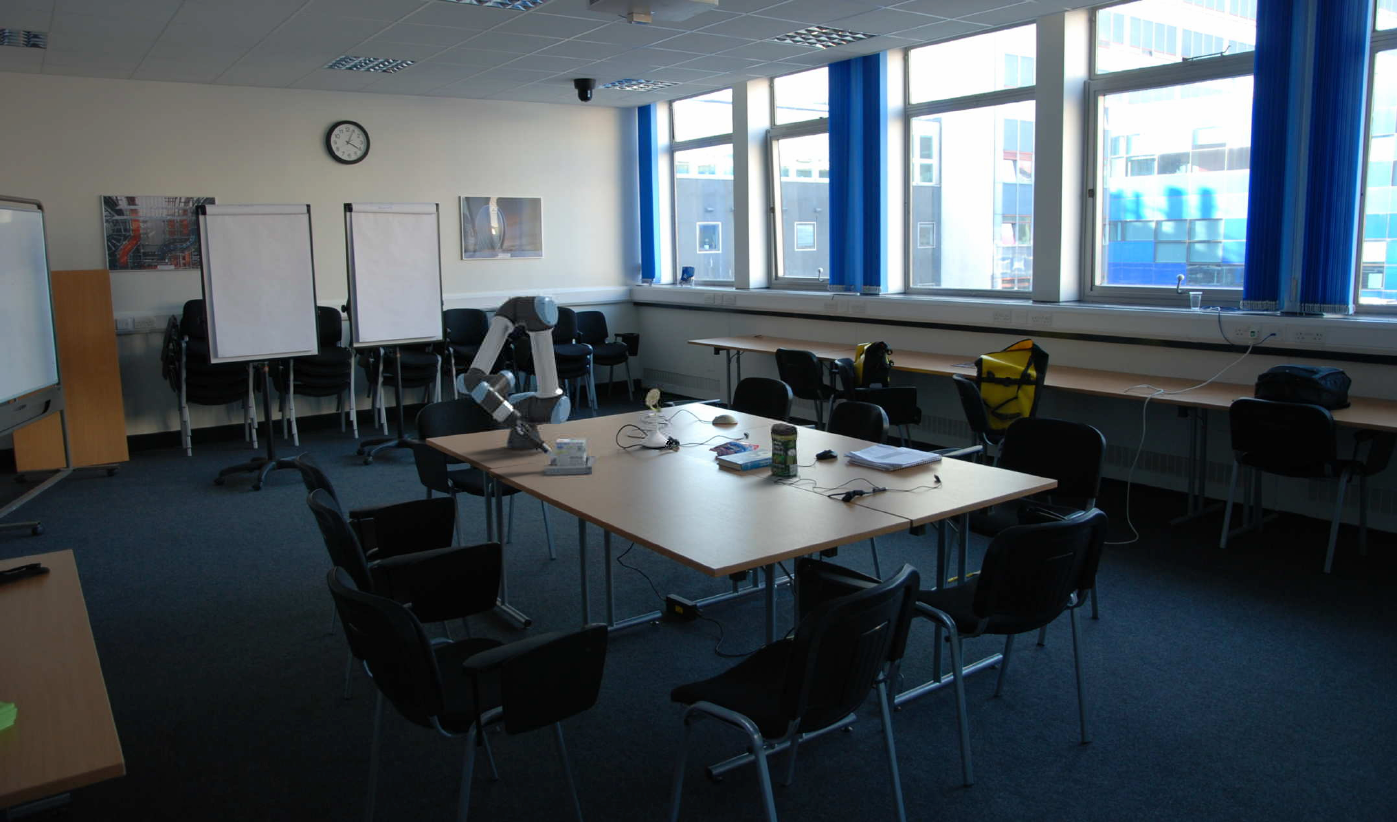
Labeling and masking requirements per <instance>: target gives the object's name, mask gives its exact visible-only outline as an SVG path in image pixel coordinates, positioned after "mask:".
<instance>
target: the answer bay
mask: <svg viewBox="0 0 1397 822" xmlns="http://www.w3.org/2000/svg"><path fill="white" fill-rule="evenodd" d="M549 460H550V459H549ZM595 463H596V457H595V456H594V455H592V456H591V455H589V456H587V455H586V466H574V467H557V465H556V456H555V457H554V458H553V459H552V461H551V460H550V465H551V466H549V467H548V466H546V467H545V469H544V470H545V471H544V473H545V476H561V475H565V474H566V475H592V474H593V471H594V468H593V467H594V466H595Z"/></svg>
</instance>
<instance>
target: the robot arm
mask: <svg viewBox="0 0 1397 822" xmlns="http://www.w3.org/2000/svg"><path fill="white" fill-rule="evenodd" d="M558 319H559V310H558V306H557V304H556V302H555V301H554V300H553V298H551V297H549V296H544V295H531V296H529V295H528V296H525V295H524V296H521V295H520V296H514V297H511V298H509V299H507V300H506V301H504V302H503V303H502V304H501V305H500V306H499V307H498V308H497V309H496V311H495V313H494V314H493V316H492V318H491V320H490V323H491V325H490V328H489V330H488V332H487V334H486V335H485V337H484V339H483V341H482V343H481V345H480V347H479V349H478V351H477V352H476V353H477V354H476V356H475V357H474V359H473V361H472V364H471V365H470V367H469V369H468V371H467V373H461V374H460V375H458V377H457V379H456V383H455V384H456V388H457V390H458V391H459V392H460V393H462V394H469V395H471V397H472V398H473V399H474V400H475V401H476V403H477V404H479V405H480V406H482V407H483V408H484V409H485V410H486V411H487V412H488V413H489V414H490V415H492V418H493V419H494V420H495V419H496V420H497V421H498V422H501V425H502V426H503V427H504V428H506V429H507V430H509V432H508V435H507V438H506V439H507V440H506V449H508V448H509V449H508V450H511V451H512V450H513V451H514V450H515V451H527V450H534V449H535V448H536V449H535V450H536V451H540V452H541V453H542V454H543V455H545V456H546V457H547V458H548V459H549V460H551V461H552V459H553V458H554V457H556V452H555V451H553V450H552V449H551V448H550V447H549V446H548V445H547V444H546V441H545V440H543V439H542V436H541V434H540V431H539V427H538V424H545V425H546V424H547V425H562V424H564V423H565V422H566V421H567V420H568V417H569V415H570V412H571V401H570V399H569V397H567V396H565V395H564V391H563V389H561V388H560V387H559V380H558V372H557V366H556V359H555V352H554V345H553V344H554V343H553V336H552V331H553V330H554V329H555V325H557V323H558ZM518 326H524V327H525V328H524V329H525V332H526V333H527V334H529V336H530V337H529V339H530V344H531V352H532V358H533V365H534V371H535V372H534V373H535V377H536V378H535V379H536V385H537V387H536V388H537V391H529V392H528V391H527V392H522V393H521V392H520V393H515V394H512V395H510V396H509V397H508V400H506V399H505V398H504V396H505V395H506V394H508V393H509V392H510V391H511V390H512V388H513V387H514V386H515V384H516V379H515V376H514V374H513V373H512V372H511V371H509V370H506V369H505V370H500V371H499V372H498V373H497V374H490V372H491V370H492V368H493V366H494V364H495V362H496V360H497V358H498V356H499V354H500V352H501V350H502V348H503V346H504V344H505V343H506V339H507V338H508V336H509V334H511V333H512V332H513V331H514V329H515V328H516V327H518Z"/></svg>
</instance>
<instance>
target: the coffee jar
mask: <svg viewBox="0 0 1397 822" xmlns="http://www.w3.org/2000/svg"><path fill="white" fill-rule="evenodd" d="M798 434H799V433H798V428H797V427H796V426H795V425H790V424H786V423H782V422H781V423H780V422H779V423H774V424H772V425H771V428H770V438H771V461H770V462H771V465H770V467H771V468H770V472H771V474H772V475H775V476H779V477H784V478H785V477H788V478H790V477H789V476H792V477H794V476H797V475H798V474H799V471H798V469H799V468H798V454H797V453H798V449H797V441H798Z"/></svg>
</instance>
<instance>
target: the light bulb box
mask: <svg viewBox="0 0 1397 822" xmlns="http://www.w3.org/2000/svg"><path fill="white" fill-rule="evenodd" d="M586 453H587V451H586V438H562V439H561V438H558V439H557V440H556V441H555V454H556V456H555V457H556V465H555V466H556V467H574V466H587V464H586V456H587V455H586Z"/></svg>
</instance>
